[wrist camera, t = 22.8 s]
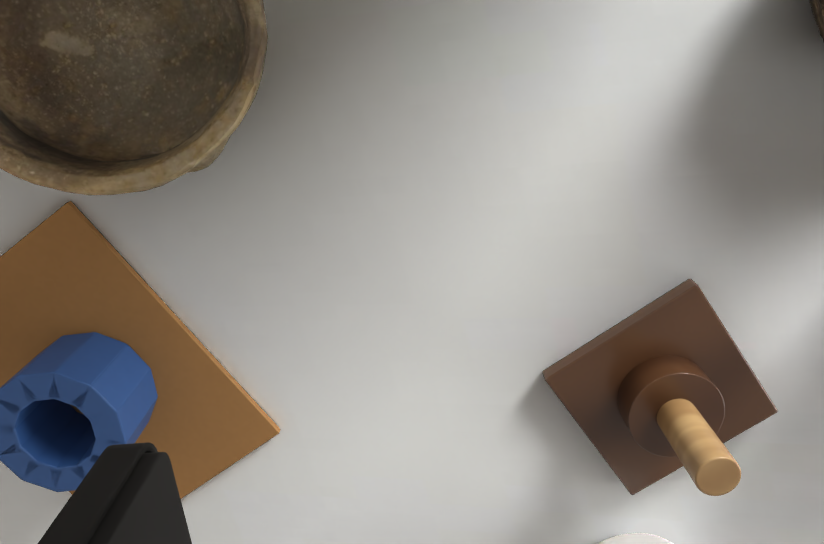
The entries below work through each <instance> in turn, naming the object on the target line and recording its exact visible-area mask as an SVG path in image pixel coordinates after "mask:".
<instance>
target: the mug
mask: <svg viewBox="0 0 824 544" xmlns="http://www.w3.org/2000/svg"><path fill="white" fill-rule="evenodd" d="M598 544H673V543H672V542H670V541H668V540H667V539H664V538H662V537H659V536H656V535H652V534H647V533H628V534H622V535H618V536H614V537H611V538H608V539H606V540H604V541H602V542H600V543H598Z"/></svg>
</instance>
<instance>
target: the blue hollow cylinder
mask: <svg viewBox="0 0 824 544" xmlns="http://www.w3.org/2000/svg"><path fill="white" fill-rule="evenodd" d="M157 398H158V394H157V391H156V387H155V383H154V379H153V375H152V372H151V368H150V367H149V366H148V365H147V364H146V363H145V362H144V361H143V360H142V359H141V358H140V357H139V356H138V354H137V353H136V352H135V351H134V350H133V349H132V348H131V347H130V346H129V345H127V344H126V343H124V342H121V341H118V340H116V339H113V338H110V337H108V336H105V335H102V334H100V333H97V332H92V333H82V334H72V335H64V336H61V337H60V338H59V339H57V340H56V341H55V342H53V343H52V344H51V345H49V346H48V347H47V348H46V349H44V350H43V351H42V352H40V353H39V354H38V355H37V356H36V357H35V358H33V359H32V360H31V361H30V362H29V363H28V364H27V365H26V366H24V367H23V368H22V369H21V370H20V371H19V372H18V373H16V374H15V375H14V376H13V377H12V378H11V379H10V380H8V381H7V382H6V383H5V384H4V385H3V386H2V387H1V388H0V461H2V462H3V463H4V464H5V465H6V466H7V467H8V468H9V469H10V470H11V471H12V472H14V473H15V474H16V475H17V476H18V477H19V478H20V479H22V480H23V481H26V482H29V483H32V484H35V485H38V486H41V487H44V488H47V489H50V490H53V491H56V492H63V491H73V490H76V489H77V488H78V486H79V485H80V483H81V482H82V481H83V479H84V478H85V476H86V475H87V473H88V472H89V471H90V469H91V468H92V466H93V465H94V464H95V462H96V461H97V459H98V458H99V457H100V455H101V454H102V452H103V451H104V450H105V449H106V448H107V447H108V446H110V445H118V444H132V443H135V442H136V440H137V439H138V437H139V436H140V434H141V433H142V431H143V430H144V428H145V427H146V425H147V424H148V422H149V420H150V417H151V415H152V412H153V409H154V406H155V404H156V401H157ZM71 405H73V406H75V407H77V408H78V409H79V410H80V411H81V412H82V413H83V414H84V415H83V414H81V413H78V412H77V411H76V410H75V409H74V408H73V407H72V406H71Z"/></svg>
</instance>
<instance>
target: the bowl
mask: <svg viewBox="0 0 824 544" xmlns="http://www.w3.org/2000/svg"><path fill="white" fill-rule="evenodd" d="M267 39H268V35H267V27H266V17H265V12H264V4H263V0H0V168H1V169H3V170H4V171H6V172H8V173H10V174H12V175H14V176H16V177H18V178H20V179H23V180H25V181H28V182H31V183H33V184H37V185H41V186H45V187H49V188H53V189H57V190H61V191H64V192H70V193H77V194H84V195H114V194H123V193H131V192H139V191H145V190H149V189H152V188H156V187H159V186H162V185H165V184H167V183H168V182H170V181H172V180H174V179H176V178H178V177H180V176H182V175H184V174H186V173H187V172H195V171H198V170H201V169H204V168H206V167H208V166H209V165H211V164H212V163H213V162H214V161H215V159H216V158H217V157H218V156H219V155H220V153H221V152H222V151H223V149H224V147H225V145H226V143H227V141H228V139H229V138H230V136H231V135H232V133H233V132H234V131H235V130H236V129H237V127H238V126H239V124H240V123H241V121H242V119H243V118H244V116H245V115H246V113H247V111H248V110H249V108H250V106H251V104H252V102H253V100H254V98H255V96H256V94H257V91H258V88H259V85H260V81H261V77H262V73H263V68H264V62H265V56H266V50H267Z"/></svg>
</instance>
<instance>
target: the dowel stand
mask: <svg viewBox="0 0 824 544" xmlns="http://www.w3.org/2000/svg"><path fill="white" fill-rule="evenodd" d="M542 373H543V376H544V378H545V381H546V382H547V383H548V385H549V386H550V387H551V389H552V390H553V391H554V393H555V394H556V395H557V397H558V398H559V399H560V401H561V402H562V403H563V405H564V406H565V407H566V409H567V410H568V411H569V413H570V414H571V415H572V417H573V418H574V419H575V421H576V422H577V423H578V425H579V426H580V427H581V429H582V430H583V431H584V433H585V434H586V435H587V437H588V438H589V439H590V441H591V442H592V443H593V445H594V446H595V447H596V449H597V450H598V451H599V453H600V454H601V455H602V457H603V458H604V459H605V461H606V462H607V463H608V464H609V466H610V467H611V468H612V470H613V471H614V472H615V474H616V475H617V476H618V478H619V479H620V480H621V482H622V483H623V484H624V486H625V487H626V488H627V490H628V491H629V492H630V494H631V495H634V494H635V493H637V492H639V491H641V490H642V489H644V488H646V487H648V486H649V485H651V484H653V483H655V482H656V481H658V480H660V479H662V478H663V477H665V476H667V475H669V474H670V473H672V472H674V471H676V470H677V469H679V468H681V467H683V466H684V467H685V469H686V470H687V472H688V474H689V475H690V477H691V478H692V480H693V482H694V483H695V485H696V486H697V488H698V489H699V490H700V491H701V492H703V493H705V494H707V495H711V496H719V495H724V494H726V493H728V492H730V491H732V490H733V489H734V488H735V487H736V486H737V485H738V483H739V481H740V478H741V469H740V466H739V464H738V463H737V462H736V460H735V459H734V458H733V456H732V455H731V454H730V452H729V451H728V450H727V448H726V447H725V446H724V444H723V443H725V442H726V441H728V440H730V439H732V438H733V437H735V436H737V435H739V434H740V433H742V432H744V431H746V430H747V429H749V428H751V427H753V426H754V425H756V424H758V423H759V422H761V421H763V420H765V419H766V418H768V417H770V416H772V415H773V414H775V413H777V412H778V410H777V408H776V407H775V405H774V404H773V402H772V401H771V399H770V397H769V396H768V394H767V393H766V391H765V390H764V388H763V386H762V385H761V383H760V382H759V380H758V379H757V377H756V375H755V374H754V372H753V371H752V369H751V368H750V366H749V365H748V363H747V361H746V360H745V358H744V357H743V355H742V354H741V352H740V350H739V349H738V347H737V346H736V344H735V343H734V341H733V339H732V338H731V336H730V335H729V333H728V332H727V330H726V328H725V327H724V325H723V324H722V322H721V321H720V319H719V317H718V316H717V314H716V313H715V311H714V310H713V308H712V306H711V305H710V303H709V302H708V300H707V299H706V297H705V295H704V294H703V292H702V291H701V289H700V288H699V286H698V285H697V284H696V283H695V282H694V281H693V280H692V279H688V280H686V281H685V282H683V283H682V284H680V285H678V286H677V287H675V288H674V289H672V290H671V291H669V292H667V293H666V294H664V295H663V296H661V297H659V298H658V299H656V300H655V301H653V302H652V303H650V304H648V305H647V306H645V307H644V308H642V309H640V310H639V311H637V312H636V313H634V314H632V315H631V316H629V317H628V318H626V319H625V320H623V321H621V322H620V323H618V324H617V325H615V326H613V327H612V328H610V329H609V330H607V331H606V332H604V333H602V334H601V335H599V336H598V337H596V338H594V339H593V340H591V341H590V342H588V343H586V344H585V345H583V346H582V347H580V348H579V349H577V350H575V351H574V352H572V353H571V354H569V355H567V356H566V357H564V358H563V359H561V360H560V361H558V362H556V363H555V364H553V365H552V366H550V367H548V368H547V369H545V370H544V371H543V372H542Z"/></svg>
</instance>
